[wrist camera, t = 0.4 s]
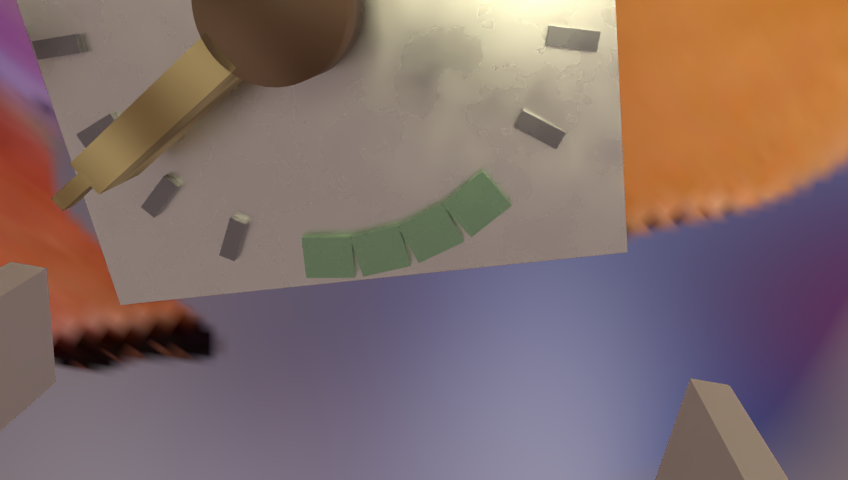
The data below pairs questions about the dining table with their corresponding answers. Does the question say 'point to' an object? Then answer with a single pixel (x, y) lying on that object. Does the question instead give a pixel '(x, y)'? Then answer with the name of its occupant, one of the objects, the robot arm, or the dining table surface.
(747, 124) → the dining table surface
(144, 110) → the dial
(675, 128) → the dining table surface
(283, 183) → the tuner plate
